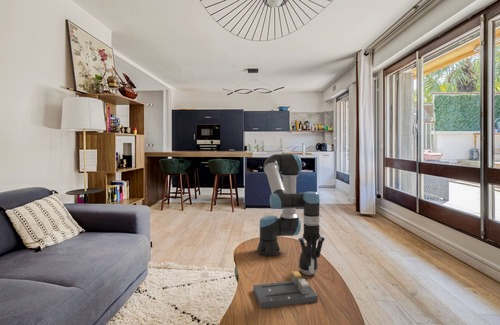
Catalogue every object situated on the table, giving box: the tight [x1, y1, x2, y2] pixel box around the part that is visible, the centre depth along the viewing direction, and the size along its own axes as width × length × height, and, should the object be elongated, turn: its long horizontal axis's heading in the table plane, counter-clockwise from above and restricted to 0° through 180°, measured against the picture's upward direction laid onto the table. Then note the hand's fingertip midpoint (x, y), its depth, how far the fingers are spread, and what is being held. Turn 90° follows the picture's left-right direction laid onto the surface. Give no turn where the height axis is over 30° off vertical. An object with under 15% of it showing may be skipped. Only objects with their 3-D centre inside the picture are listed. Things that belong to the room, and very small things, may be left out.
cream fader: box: [298, 278, 310, 294], centre depth 120 cm, size 5×3×5 cm, turn 11°
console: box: [252, 280, 319, 309], centre depth 122 cm, size 15×26×3 cm, turn 101°
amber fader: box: [291, 270, 303, 286], centre depth 128 cm, size 5×3×5 cm, turn 11°
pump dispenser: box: [298, 245, 319, 276], centre depth 144 cm, size 10×10×15 cm
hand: (311, 271), depth 129 cm, fingers closed
